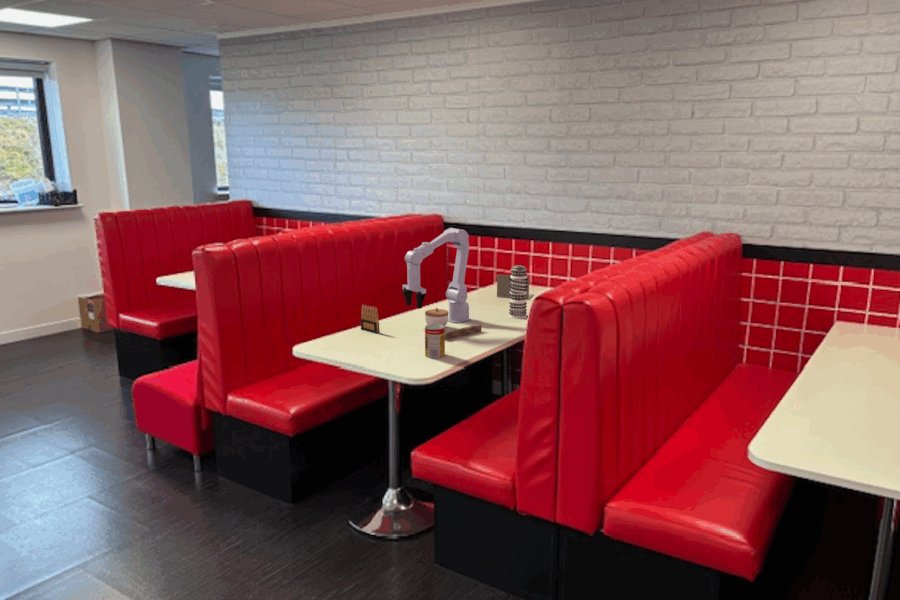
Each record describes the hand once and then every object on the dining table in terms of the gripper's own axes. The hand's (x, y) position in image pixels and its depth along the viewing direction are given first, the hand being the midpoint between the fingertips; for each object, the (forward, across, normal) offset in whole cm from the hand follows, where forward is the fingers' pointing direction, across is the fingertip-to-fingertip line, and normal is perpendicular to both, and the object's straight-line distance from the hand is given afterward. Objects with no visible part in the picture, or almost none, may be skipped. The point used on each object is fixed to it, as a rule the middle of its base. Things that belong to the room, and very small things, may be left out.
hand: (414, 306), depth 314 cm
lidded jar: (+10, +7, +8) cm, 14 cm away
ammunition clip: (+10, -10, -18) cm, 23 cm away
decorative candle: (+11, +17, +52) cm, 55 cm away
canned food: (+10, +38, -21) cm, 44 cm away
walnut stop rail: (+10, +24, +8) cm, 27 cm away
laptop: (+11, -14, +85) cm, 87 cm away
